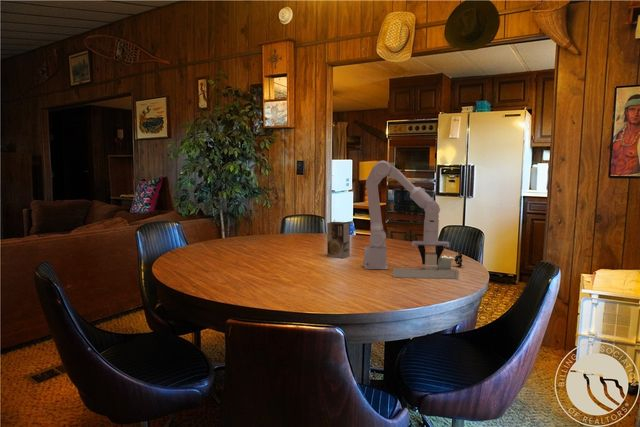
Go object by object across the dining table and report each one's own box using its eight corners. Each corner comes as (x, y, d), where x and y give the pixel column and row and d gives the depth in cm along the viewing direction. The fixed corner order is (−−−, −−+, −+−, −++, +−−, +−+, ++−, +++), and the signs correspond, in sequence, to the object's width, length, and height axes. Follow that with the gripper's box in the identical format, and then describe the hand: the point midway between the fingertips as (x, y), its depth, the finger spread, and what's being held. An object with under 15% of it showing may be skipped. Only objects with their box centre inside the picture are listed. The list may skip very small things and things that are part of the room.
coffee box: (350, 256, 201) (350, 222, 199) (343, 258, 195) (343, 223, 194) (333, 254, 206) (333, 221, 204) (326, 256, 200) (326, 222, 199)
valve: (432, 267, 178) (462, 268, 176) (432, 252, 177) (462, 253, 175) (430, 264, 184) (459, 265, 183) (431, 249, 184) (460, 250, 182)
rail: (393, 277, 160) (393, 262, 160) (391, 272, 169) (391, 257, 168) (458, 279, 158) (459, 263, 158) (453, 273, 167) (453, 258, 166)
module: (426, 270, 168) (426, 255, 168) (423, 266, 175) (423, 251, 174) (437, 270, 168) (438, 255, 167) (434, 267, 175) (434, 252, 174)
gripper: (414, 231, 168) (413, 265, 169) (451, 232, 167) (450, 266, 168) (411, 229, 175) (410, 262, 176) (447, 230, 174) (446, 262, 175)
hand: (429, 264), depth 172 cm, fingers closed on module, 4 cm apart
